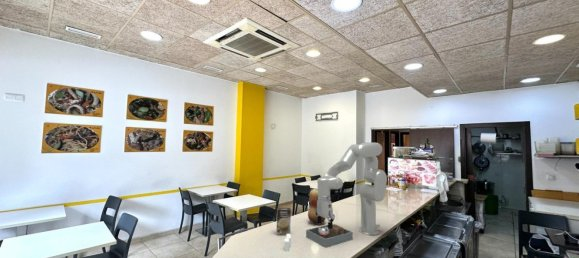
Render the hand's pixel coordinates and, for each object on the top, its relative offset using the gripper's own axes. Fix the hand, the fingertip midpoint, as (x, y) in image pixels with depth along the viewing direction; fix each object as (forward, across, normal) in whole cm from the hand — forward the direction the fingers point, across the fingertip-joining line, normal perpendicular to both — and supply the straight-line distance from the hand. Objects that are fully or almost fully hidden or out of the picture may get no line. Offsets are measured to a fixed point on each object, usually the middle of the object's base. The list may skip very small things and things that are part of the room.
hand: (324, 226), depth 148 cm
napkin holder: (+8, +5, +25) cm, 27 cm away
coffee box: (+8, +23, +16) cm, 29 cm away
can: (+8, 0, +1) cm, 8 cm away
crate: (+9, 0, -3) cm, 9 cm away
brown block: (+8, 0, -9) cm, 12 cm away
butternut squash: (+9, +27, -16) cm, 33 cm away
